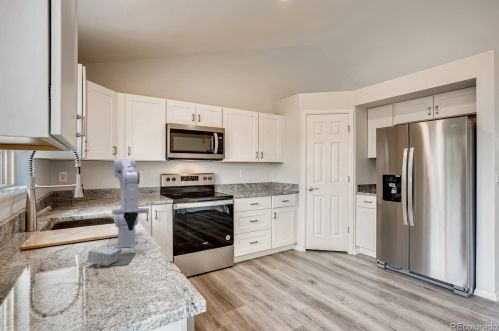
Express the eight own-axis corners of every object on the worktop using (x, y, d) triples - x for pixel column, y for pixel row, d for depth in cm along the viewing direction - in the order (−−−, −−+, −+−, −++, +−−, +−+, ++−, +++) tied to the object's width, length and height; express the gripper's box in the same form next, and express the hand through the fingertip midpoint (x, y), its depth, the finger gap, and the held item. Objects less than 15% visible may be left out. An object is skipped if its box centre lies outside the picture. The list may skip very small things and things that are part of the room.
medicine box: (86, 262, 94) (107, 266, 93) (88, 250, 94) (109, 254, 93) (100, 256, 102) (120, 260, 101) (102, 245, 102) (122, 249, 101)
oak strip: (108, 256, 106) (108, 253, 106) (111, 256, 107) (111, 253, 107) (96, 268, 93) (96, 265, 93) (99, 268, 93) (99, 265, 93)
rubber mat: (113, 255, 108) (113, 254, 108) (135, 253, 110) (135, 252, 110) (102, 267, 94) (102, 266, 94) (127, 265, 96) (127, 264, 96)
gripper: (110, 200, 104) (109, 233, 104) (147, 199, 108) (147, 231, 107) (115, 198, 111) (114, 229, 111) (149, 197, 114) (149, 227, 114)
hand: (130, 230), depth 109 cm, fingers closed
